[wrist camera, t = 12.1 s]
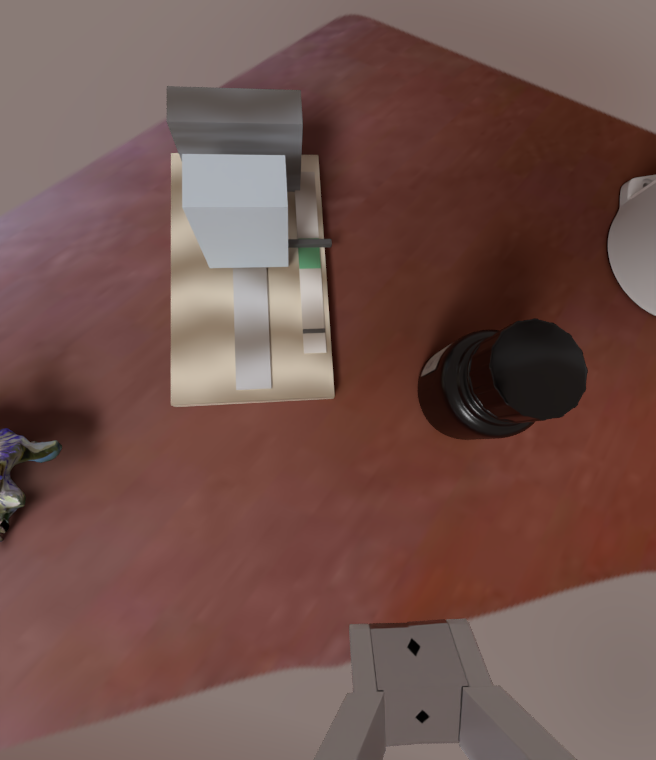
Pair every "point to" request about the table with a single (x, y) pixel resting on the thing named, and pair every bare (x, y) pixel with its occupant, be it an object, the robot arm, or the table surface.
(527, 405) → the ink bottle
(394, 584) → the table surface
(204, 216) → the gauge slider
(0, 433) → the passion flower
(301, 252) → the bench
